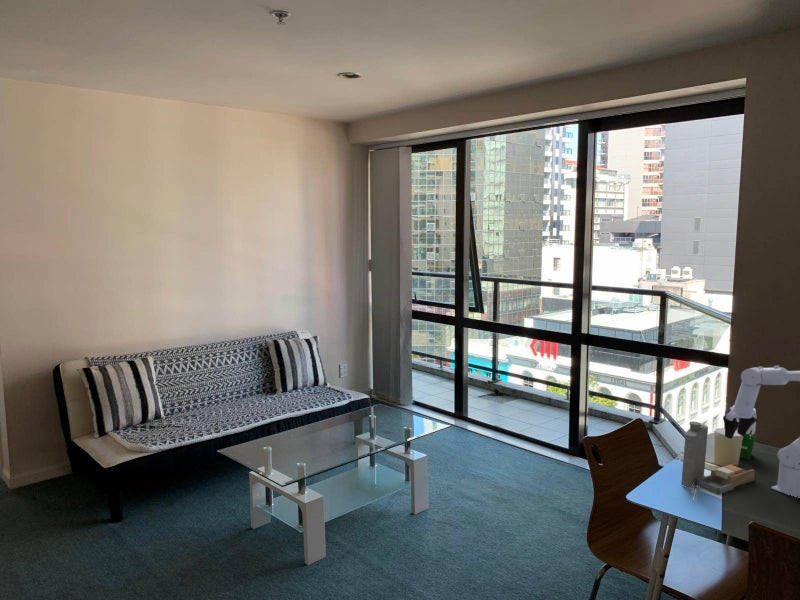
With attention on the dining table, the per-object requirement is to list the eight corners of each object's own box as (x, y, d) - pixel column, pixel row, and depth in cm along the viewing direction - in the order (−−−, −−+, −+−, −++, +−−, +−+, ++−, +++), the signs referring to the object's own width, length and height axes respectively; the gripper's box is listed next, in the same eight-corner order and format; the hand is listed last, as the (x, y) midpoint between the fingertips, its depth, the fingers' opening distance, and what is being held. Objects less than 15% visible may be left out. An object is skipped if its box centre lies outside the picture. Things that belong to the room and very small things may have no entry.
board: (754, 480, 202) (755, 470, 202) (730, 488, 195) (731, 477, 195) (733, 473, 208) (734, 462, 208) (709, 480, 201) (710, 470, 201)
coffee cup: (733, 459, 221) (736, 428, 220) (745, 469, 212) (748, 437, 211) (707, 458, 222) (709, 427, 221) (718, 467, 213) (720, 435, 212)
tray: (733, 489, 195) (733, 483, 194) (718, 494, 191) (719, 488, 190) (709, 480, 201) (710, 474, 201) (695, 485, 197) (696, 479, 197)
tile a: (741, 474, 201) (742, 468, 201) (735, 476, 199) (735, 471, 199) (730, 470, 204) (730, 464, 204) (723, 472, 202) (724, 466, 202)
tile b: (734, 476, 199) (734, 471, 198) (727, 479, 197) (727, 473, 196) (722, 472, 202) (723, 467, 202) (715, 474, 200) (716, 469, 200)
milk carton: (725, 455, 225) (730, 404, 223) (727, 448, 233) (731, 399, 231) (752, 460, 221) (757, 408, 218) (753, 453, 228) (758, 403, 226)
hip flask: (690, 488, 195) (695, 429, 192) (677, 484, 198) (681, 426, 195) (705, 474, 206) (710, 419, 204) (692, 471, 209) (697, 416, 207)
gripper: (746, 393, 211) (735, 427, 215) (722, 397, 204) (711, 433, 207) (766, 402, 205) (754, 437, 209) (742, 406, 198) (730, 443, 202)
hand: (734, 435), depth 208 cm, fingers open, 7 cm apart
